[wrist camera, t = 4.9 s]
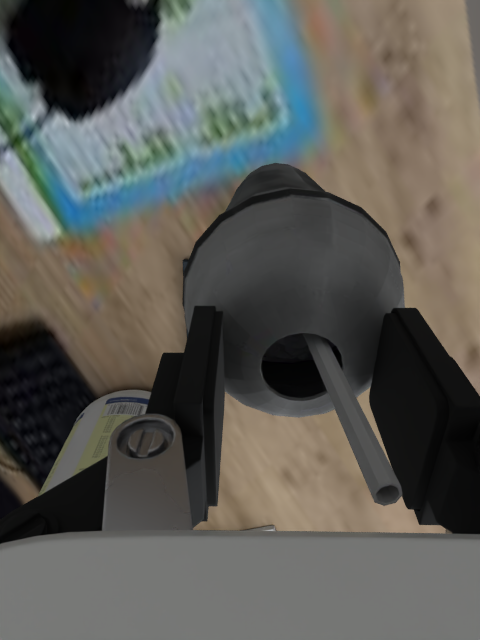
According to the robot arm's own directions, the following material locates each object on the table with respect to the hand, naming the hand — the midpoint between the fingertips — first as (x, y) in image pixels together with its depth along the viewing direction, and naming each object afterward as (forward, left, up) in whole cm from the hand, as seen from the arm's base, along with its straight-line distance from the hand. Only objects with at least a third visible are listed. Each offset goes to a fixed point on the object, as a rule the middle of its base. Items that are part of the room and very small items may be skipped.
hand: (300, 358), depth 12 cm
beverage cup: (0, 0, -15) cm, 15 cm away
